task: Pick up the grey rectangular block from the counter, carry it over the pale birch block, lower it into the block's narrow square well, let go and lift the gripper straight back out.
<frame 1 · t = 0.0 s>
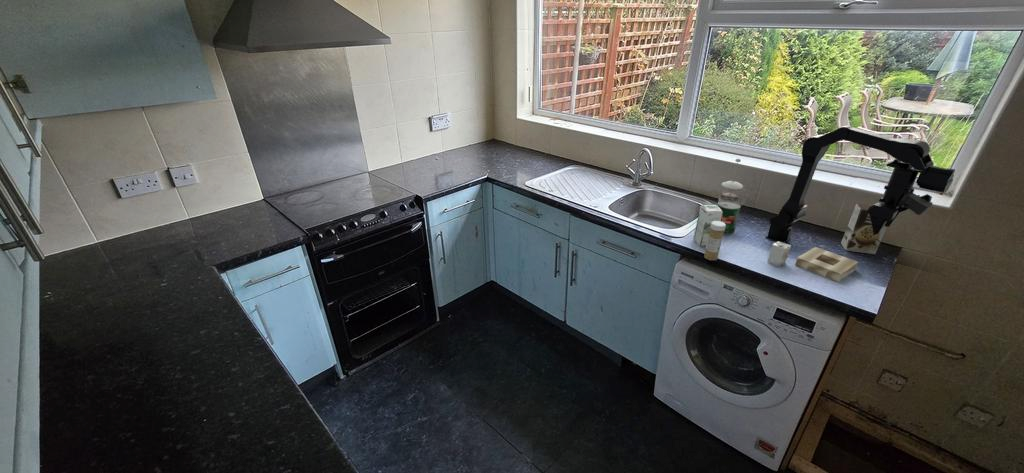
hand: (881, 230, 137), 15 cm above the worktop, tool pointing down, fingers open, 9 cm apart
well block: (824, 267, 145), on the worktop
grey rectangular block: (776, 262, 148), on the worktop
cookie box: (857, 249, 157), on the worktop
sprinkles bottle: (710, 258, 152), on the worktop
french press: (727, 216, 184), on the worktop
canned tomato: (723, 230, 171), on the worktop
syrup box: (703, 243, 162), on the worktop
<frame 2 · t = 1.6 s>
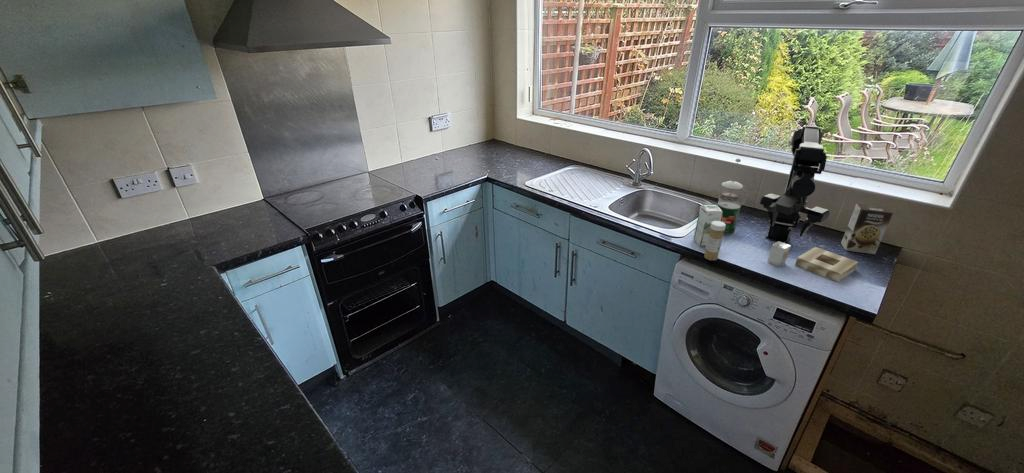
hand: (786, 230, 143), 12 cm above the worktop, tool pointing down, fingers open, 9 cm apart
nothing on the worktop moved.
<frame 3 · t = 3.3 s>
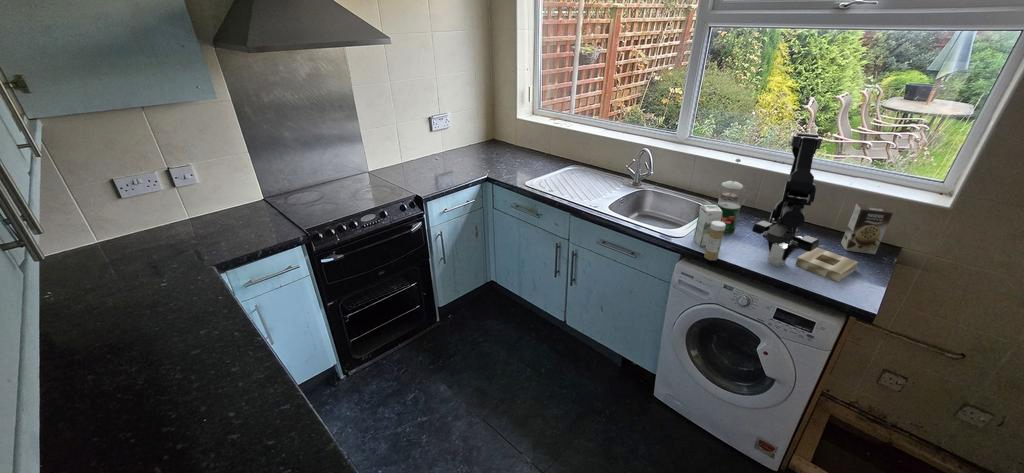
hand: (777, 257, 147), 2 cm above the worktop, tool pointing down, fingers closed on grey rectangular block, 4 cm apart
grey rectangular block: (776, 262, 148), on the worktop, touching gripper
everything else where it was.
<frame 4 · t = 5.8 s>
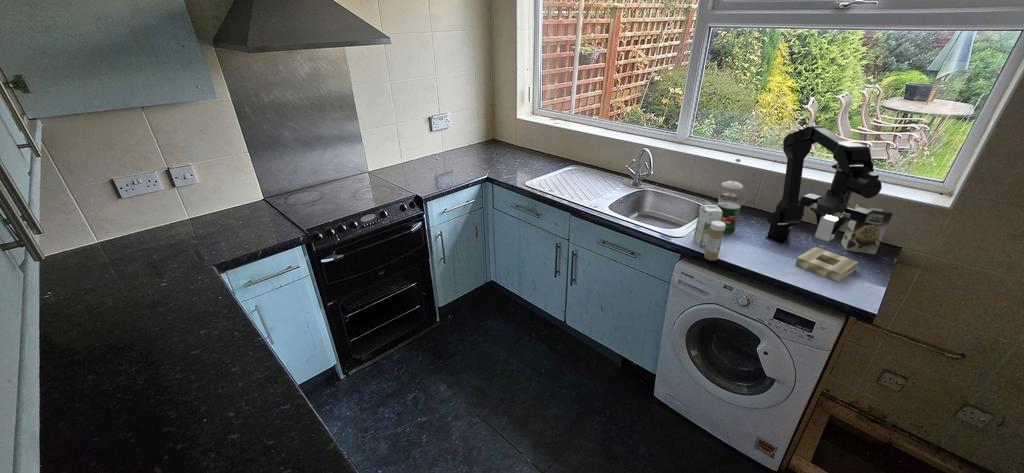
hand: (826, 231, 140), 13 cm above the worktop, tool pointing down, fingers closed on grey rectangular block, 4 cm apart
grey rectangular block: (824, 237, 141), point 11 cm above the worktop, touching gripper
everything else where it was.
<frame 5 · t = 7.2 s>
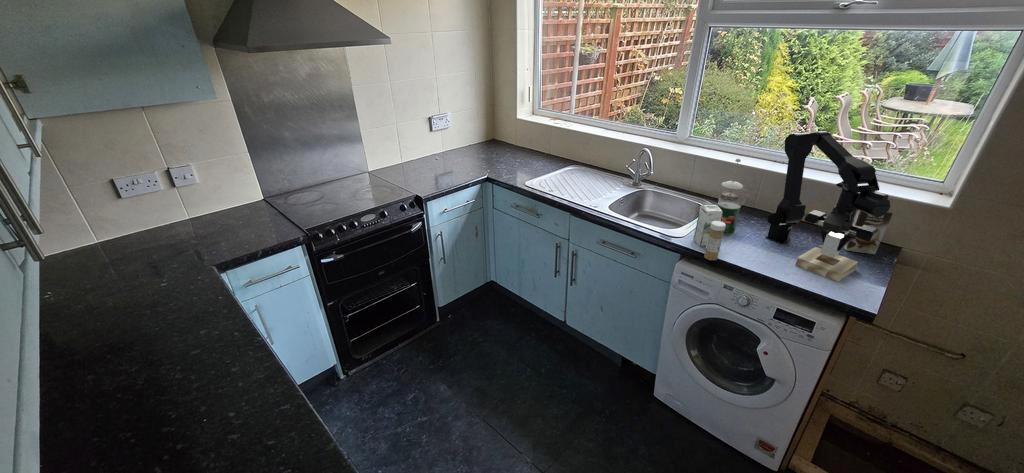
hand: (831, 248, 142), 7 cm above the worktop, tool pointing down, fingers closed on grey rectangular block, 4 cm apart
grey rectangular block: (829, 253, 143), point 5 cm above the worktop, touching gripper
everything else where it was.
when the fingers open (4 cm above the worktop, at t = 8.5 s): grey rectangular block drops 1 cm, resting on well block.
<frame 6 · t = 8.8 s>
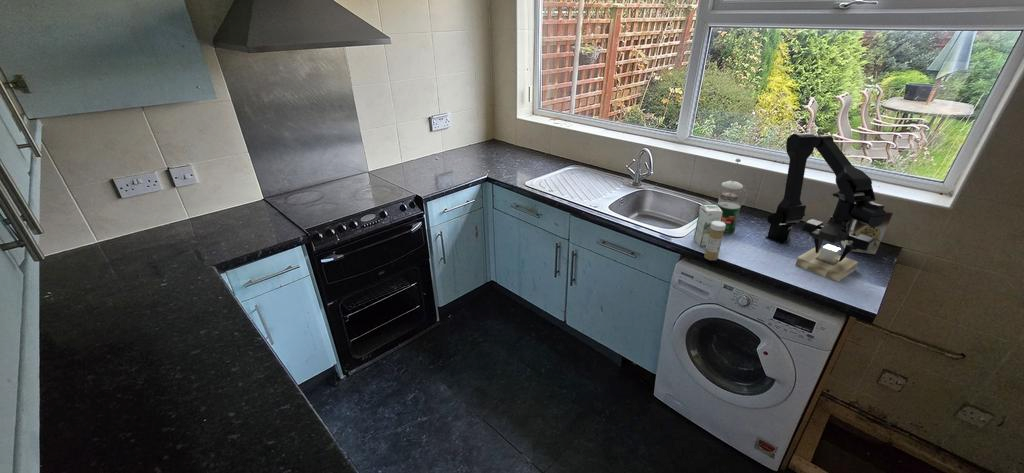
hand: (828, 257, 143), 4 cm above the worktop, tool pointing down, fingers open, 7 cm apart
grey rectangular block: (825, 266, 145), resting on well block
everything else where it was.
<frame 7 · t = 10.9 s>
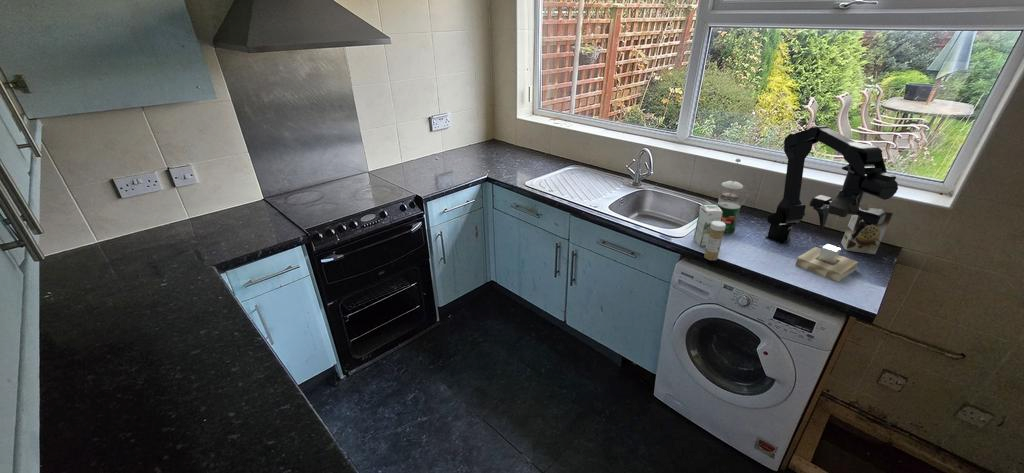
hand: (837, 233, 139), 13 cm above the worktop, tool pointing down, fingers open, 9 cm apart
nothing on the worktop moved.
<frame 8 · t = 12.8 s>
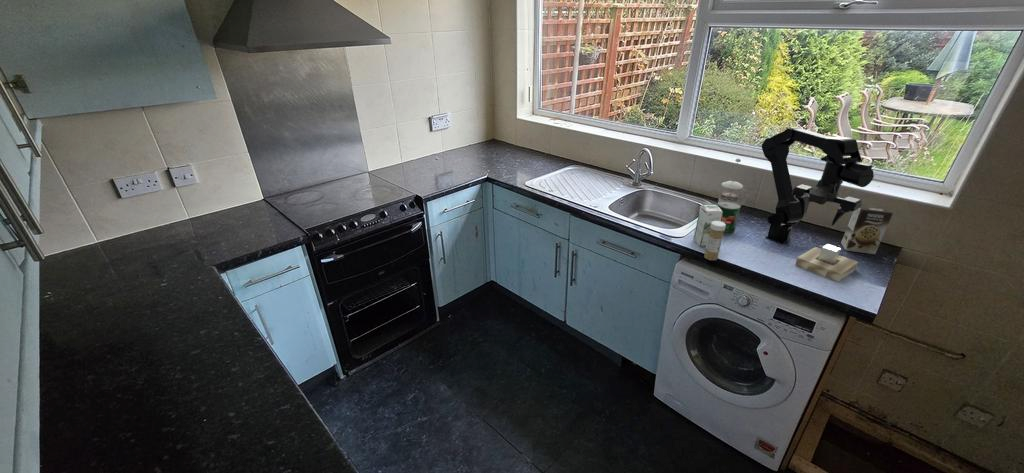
hand: (817, 220, 148), 13 cm above the worktop, tool pointing down, fingers open, 9 cm apart
nothing on the worktop moved.
at the end: grey rectangular block 0.0 cm off-centre on the well block, point 0.5 cm above the well block's base; grey rectangular block tilted 0°; the gripper is holding nothing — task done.
